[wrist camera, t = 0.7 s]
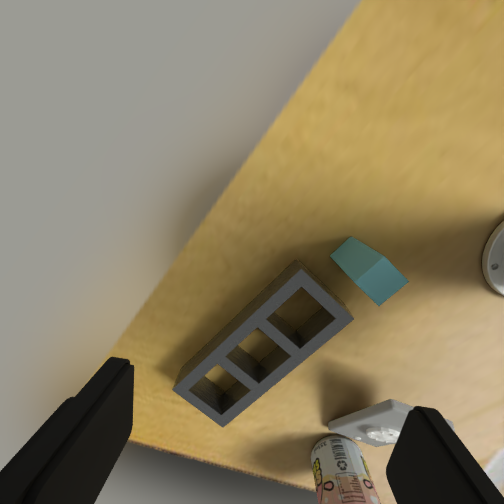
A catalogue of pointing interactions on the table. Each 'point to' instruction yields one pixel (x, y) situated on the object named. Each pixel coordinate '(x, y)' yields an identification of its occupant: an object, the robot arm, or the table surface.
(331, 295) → the hole rail
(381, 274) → the square peg
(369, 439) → the light switch
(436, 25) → the table surface
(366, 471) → the beverage can
